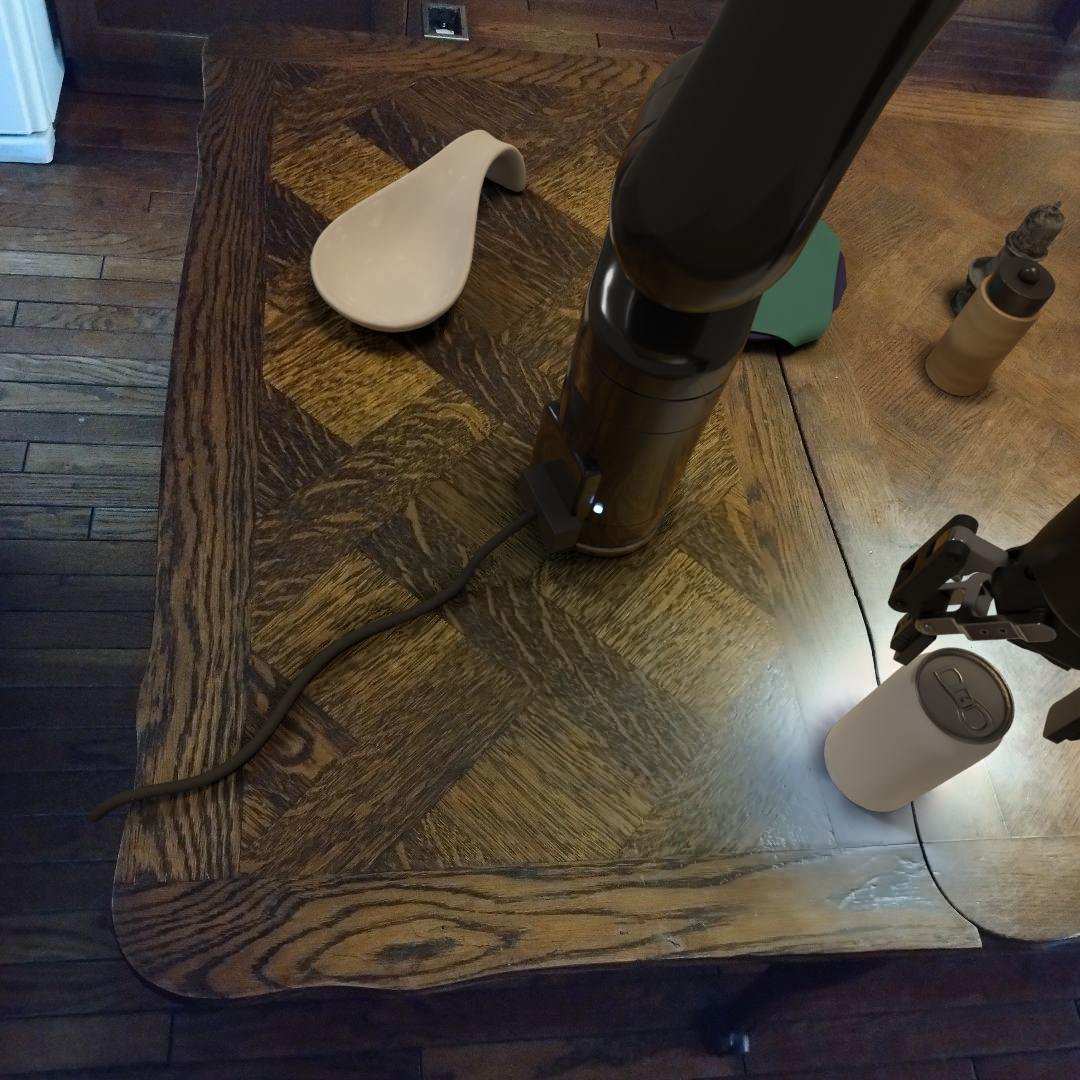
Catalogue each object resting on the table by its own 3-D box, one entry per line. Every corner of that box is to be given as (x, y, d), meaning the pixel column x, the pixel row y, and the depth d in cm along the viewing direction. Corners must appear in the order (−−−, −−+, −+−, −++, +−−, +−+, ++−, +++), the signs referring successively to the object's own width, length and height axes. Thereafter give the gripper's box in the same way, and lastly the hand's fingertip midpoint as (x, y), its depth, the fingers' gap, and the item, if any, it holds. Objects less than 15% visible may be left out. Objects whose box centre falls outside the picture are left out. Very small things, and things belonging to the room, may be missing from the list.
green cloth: (593, 312, 80) (598, 291, 78) (661, 100, 96) (667, 79, 94) (826, 383, 80) (838, 364, 78) (856, 159, 96) (867, 139, 94)
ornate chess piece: (1013, 341, 86) (1099, 235, 76) (948, 324, 86) (1026, 215, 76) (1009, 294, 89) (1092, 187, 79) (947, 278, 89) (1022, 168, 79)
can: (855, 829, 61) (953, 769, 51) (802, 735, 64) (885, 660, 54) (936, 792, 63) (1046, 728, 53) (882, 703, 66) (976, 625, 56)
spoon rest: (412, 379, 74) (416, 311, 68) (281, 309, 76) (274, 237, 69) (558, 207, 86) (572, 137, 80) (442, 150, 88) (448, 77, 82)
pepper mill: (947, 402, 81) (1032, 297, 71) (913, 357, 83) (990, 249, 73) (993, 388, 83) (1082, 283, 72) (958, 344, 85) (1039, 236, 75)
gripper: (995, 517, 38) (833, 680, 52) (1358, 694, 36) (1090, 814, 50) (1034, 392, 42) (874, 574, 56) (1365, 545, 40) (1114, 695, 54)
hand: (976, 687), depth 53 cm, fingers open, 8 cm apart
